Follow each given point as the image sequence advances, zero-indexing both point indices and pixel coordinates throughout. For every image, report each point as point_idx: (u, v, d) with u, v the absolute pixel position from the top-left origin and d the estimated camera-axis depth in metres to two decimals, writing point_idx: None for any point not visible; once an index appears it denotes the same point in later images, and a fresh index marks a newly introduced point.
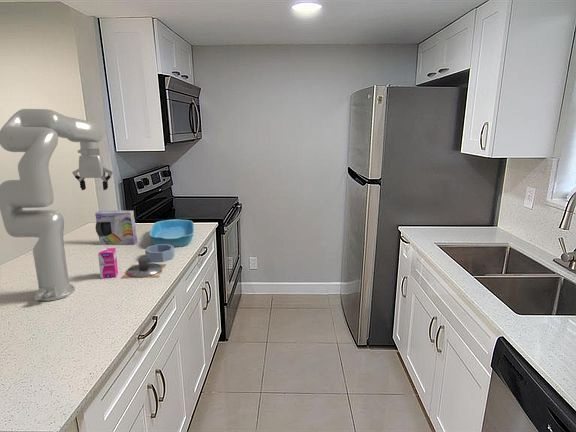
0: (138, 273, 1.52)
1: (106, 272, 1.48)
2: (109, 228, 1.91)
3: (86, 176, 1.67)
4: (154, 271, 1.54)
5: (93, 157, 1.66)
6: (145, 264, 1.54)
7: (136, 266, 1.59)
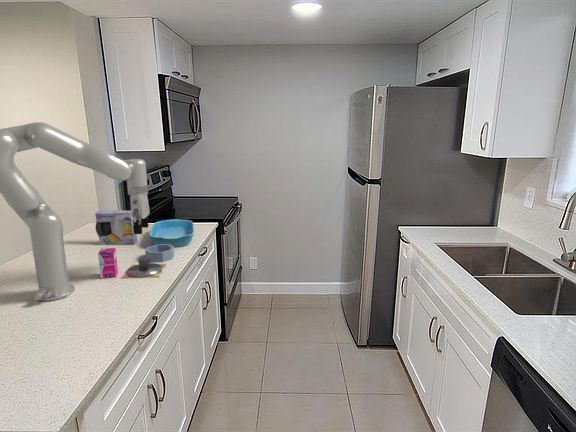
0: (138, 273, 1.52)
1: (106, 272, 1.48)
2: (109, 228, 1.91)
3: (146, 215, 1.50)
4: (154, 271, 1.54)
5: (146, 194, 1.51)
6: (145, 264, 1.54)
7: (136, 266, 1.59)
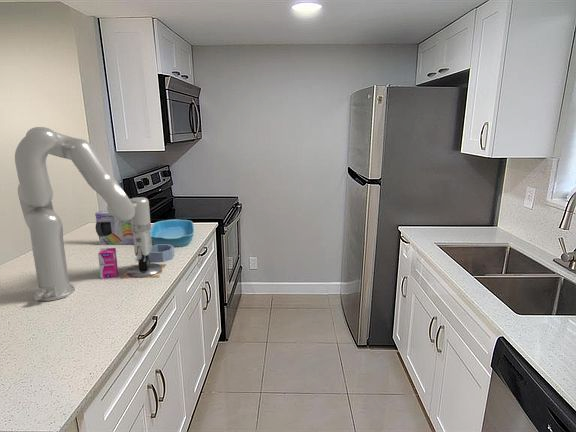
0: (138, 273, 1.52)
1: (106, 272, 1.48)
2: (109, 228, 1.91)
3: (149, 252, 1.53)
4: (154, 271, 1.54)
5: (149, 230, 1.55)
6: None
7: (136, 266, 1.59)
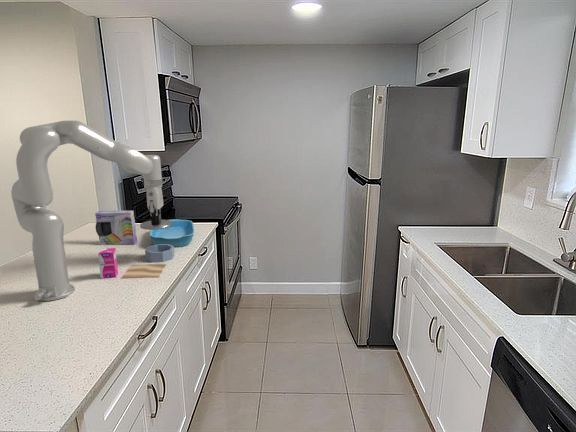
0: (151, 226, 1.62)
1: (106, 272, 1.48)
2: (109, 228, 1.91)
3: (160, 206, 1.63)
4: (165, 225, 1.64)
5: (160, 187, 1.65)
6: None
7: (148, 221, 1.69)
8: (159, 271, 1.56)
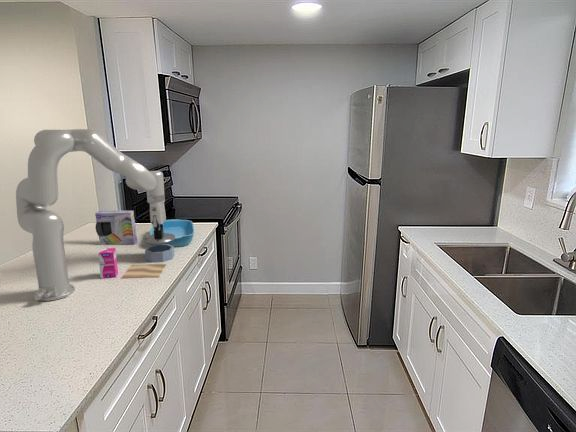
0: (154, 240, 1.66)
1: (106, 272, 1.48)
2: (109, 228, 1.91)
3: (163, 221, 1.67)
4: (168, 239, 1.68)
5: (163, 202, 1.69)
6: None
7: (151, 235, 1.73)
8: (159, 271, 1.56)
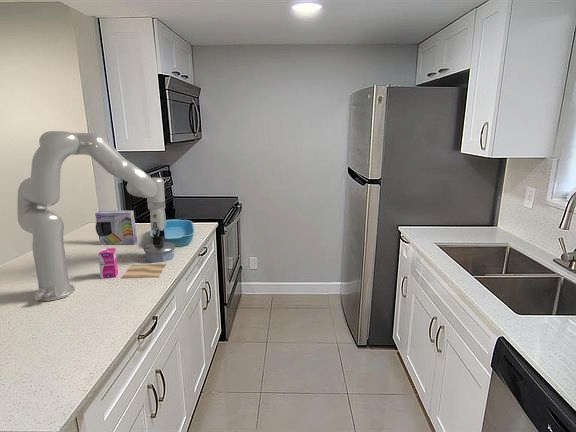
0: (154, 250, 1.67)
1: (106, 272, 1.48)
2: (109, 228, 1.91)
3: (163, 227, 1.68)
4: (168, 248, 1.69)
5: None
6: None
7: (151, 244, 1.74)
8: (159, 271, 1.56)
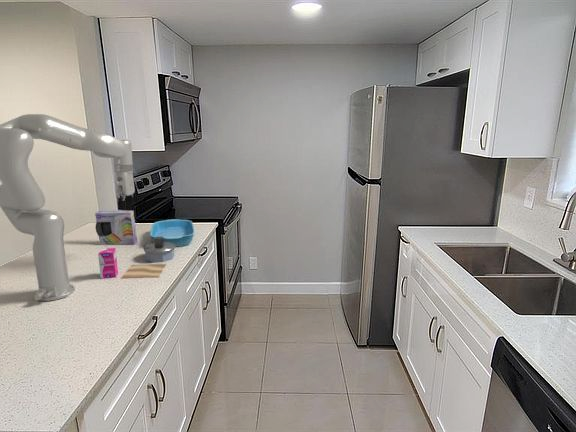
0: (154, 250, 1.67)
1: (106, 272, 1.48)
2: (109, 228, 1.91)
3: (130, 193, 1.59)
4: (168, 248, 1.69)
5: (131, 173, 1.61)
6: (160, 242, 1.69)
7: (151, 244, 1.74)
8: (159, 271, 1.56)
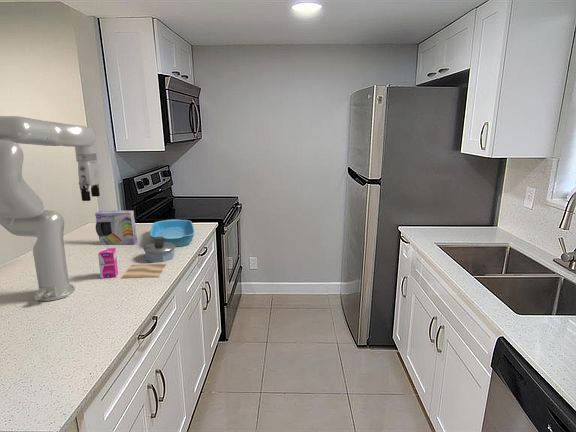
0: (154, 250, 1.67)
1: (106, 272, 1.48)
2: (109, 228, 1.91)
3: (94, 183, 1.53)
4: (168, 248, 1.69)
5: (95, 162, 1.55)
6: (160, 242, 1.69)
7: (151, 244, 1.74)
8: (159, 271, 1.56)
